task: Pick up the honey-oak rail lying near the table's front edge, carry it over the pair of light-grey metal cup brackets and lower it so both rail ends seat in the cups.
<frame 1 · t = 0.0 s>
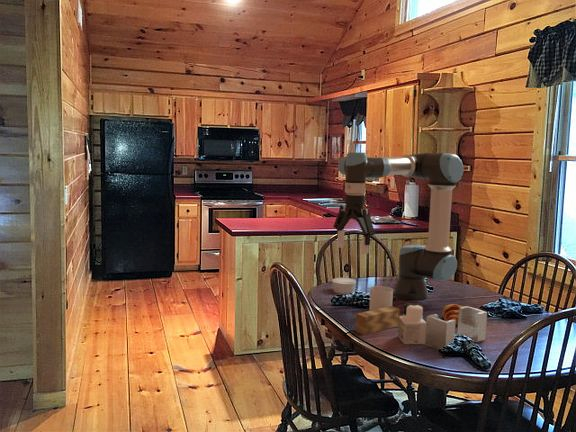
hand: (352, 250, 203), 28 cm above the table, fingers open, 13 cm apart
croissant: (455, 320, 213), on the table
rail: (377, 328, 200), on the table
container: (411, 341, 188), on the table
ramekin: (343, 292, 250), on the table
cup brackets: (455, 342, 188), on the table
mug: (381, 315, 217), on the table
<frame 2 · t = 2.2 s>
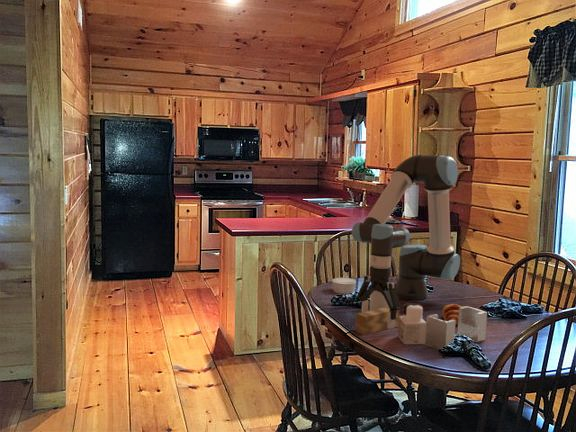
hand: (377, 322, 200), 2 cm above the table, fingers open, 13 cm apart
nothing on the table moved.
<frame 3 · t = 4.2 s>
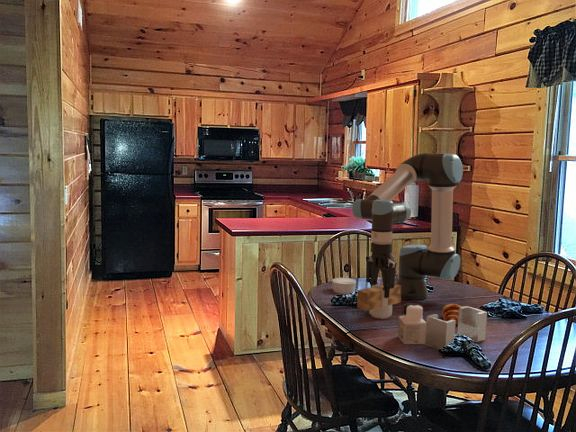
hand: (379, 303, 199), 9 cm above the table, fingers closed on rail, 4 cm apart
rail: (379, 305, 199), point 9 cm above the table, touching gripper
everything else where it was.
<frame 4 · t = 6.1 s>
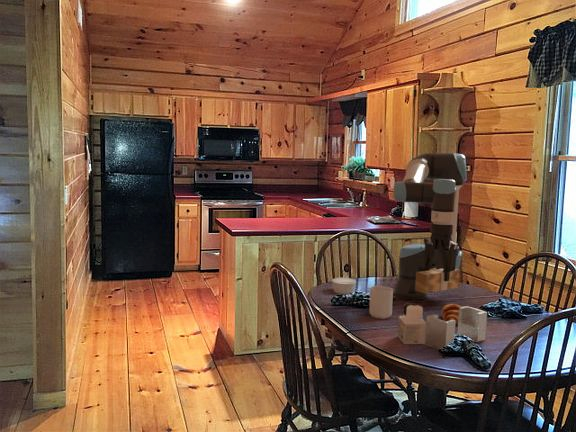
hand: (437, 288, 192), 18 cm above the table, fingers closed on rail, 4 cm apart
rail: (437, 288, 192), point 17 cm above the table, touching gripper
everything else where it was.
when the fingers open (5 cm above the table, at t = 8.3 s): rail stays where it is, resting on cup brackets.
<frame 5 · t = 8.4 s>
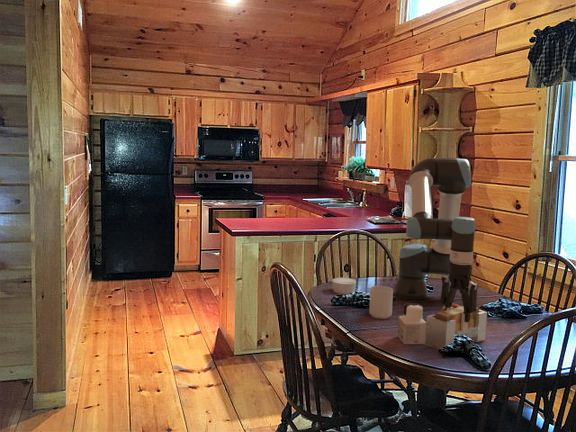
hand: (456, 327, 187), 5 cm above the table, fingers open, 5 cm apart
rail: (456, 328, 187), point 5 cm above the table, touching cup brackets
everything else where it was.
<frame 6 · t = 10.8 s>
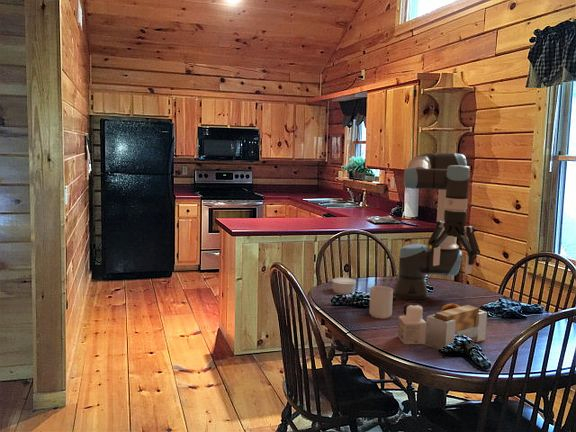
hand: (451, 269, 191), 24 cm above the table, fingers open, 13 cm apart
nothing on the table moved.
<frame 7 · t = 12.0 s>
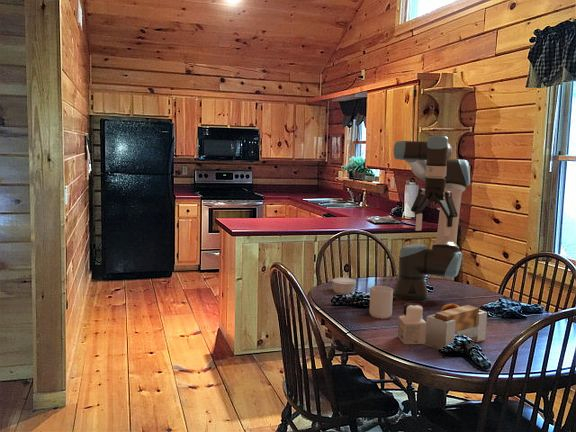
hand: (432, 233, 206), 35 cm above the table, fingers open, 13 cm apart
nothing on the table moved.
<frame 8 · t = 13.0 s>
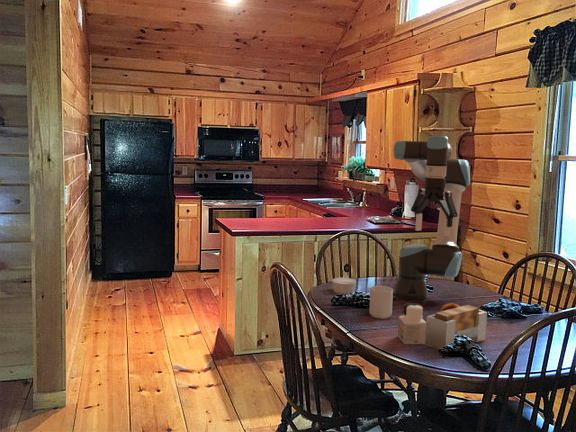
hand: (432, 233, 206), 35 cm above the table, fingers open, 13 cm apart
nothing on the table moved.
at the end: rail 0.2 cm off-centre on the cup brackets, point 5.0 cm above the cup brackets's base; rail tilted 0°; the gripper is holding nothing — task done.
